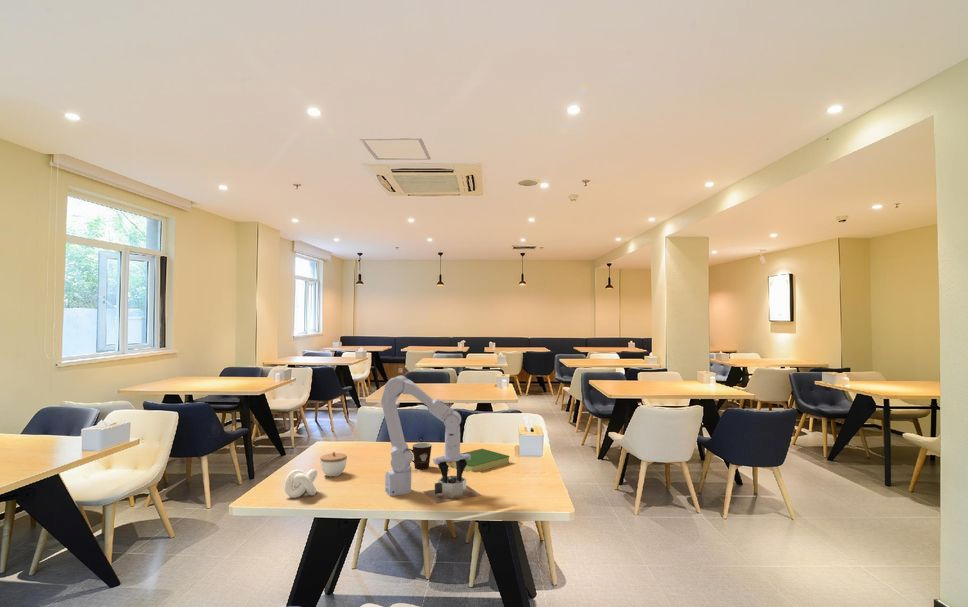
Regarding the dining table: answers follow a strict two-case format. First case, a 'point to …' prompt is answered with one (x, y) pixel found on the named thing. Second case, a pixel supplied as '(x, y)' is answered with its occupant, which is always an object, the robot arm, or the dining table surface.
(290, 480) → the white knot ornament
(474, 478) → the dining table surface
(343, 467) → the lidded jar
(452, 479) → the grey knobbed lid
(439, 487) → the silver octagonal piece
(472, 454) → the hardcover book
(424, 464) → the coffee mug
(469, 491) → the serving board
